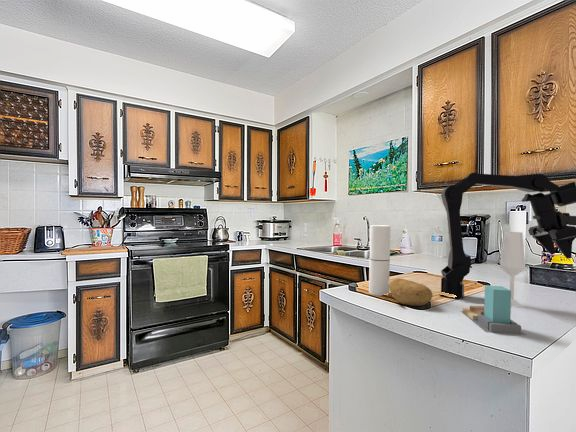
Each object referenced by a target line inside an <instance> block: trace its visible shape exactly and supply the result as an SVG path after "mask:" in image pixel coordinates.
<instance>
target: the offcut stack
mask: <svg viewBox="0 0 576 432" xmlns="http://www.w3.org/2000/svg"><path fill="white" fill-rule="evenodd" d="M461 308H462V310H461V311H463V312H464V313H465V314H466V315H468V316H469V317H470V318H471V319H473V320H478V314H482V315H483V316H484V305H469V307H464V306H463V307H461ZM466 315H465V316H466Z"/></svg>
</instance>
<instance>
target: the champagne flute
mask: <svg viewBox="0 0 576 432" xmlns="http://www.w3.org/2000/svg"><path fill="white" fill-rule="evenodd" d="M524 246H525V245H524V235H523V232H520V231H504V234H503V241H502V247H501V254H500V262H499V265H500V267H501V269H502V270H503V272H505V273H506V274H507V275H509V290H511V307H519V308H520V307H525V306H524V305H523V304H522V303H520V302H519V301H517V300H515V298H514V297H515V277H516V276H518V275H519V274H520V273H522V272H523V271H524V270H525V268H526V259H525V257H526V256H525V247H524Z"/></svg>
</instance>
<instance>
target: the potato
mask: <svg viewBox="0 0 576 432" xmlns="http://www.w3.org/2000/svg"><path fill="white" fill-rule="evenodd" d="M389 292H390V293H391V296H392V297H393V299H395V300H396V301H397V302H398V303H400V304H401V305H407V306H413V307H424V306H425V305H426V304H428V303H429V302H430V301H431V300H432V299H433V296H434V295H433V292H432V290H431V289H430V288H429V287H428V286H426V285H425V284H421V283H419V282H416V281H412V280H407V279H404V278H394V279H392V280H391V281H389Z"/></svg>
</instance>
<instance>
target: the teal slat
mask: <svg viewBox="0 0 576 432" xmlns="http://www.w3.org/2000/svg"><path fill="white" fill-rule="evenodd" d="M483 302H484V305H483V306H484V316H485V317H486V318H488V319H489V320H490V321H492V323H503V324H510V319H511V313H512V312H511V309H512V306H511V290H510V288H507V287H505V286H502V285H487V284H486V285H484V301H483Z"/></svg>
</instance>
